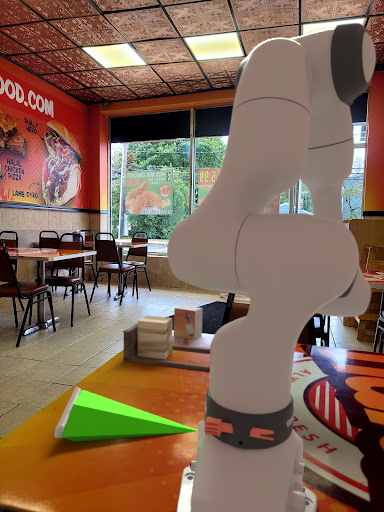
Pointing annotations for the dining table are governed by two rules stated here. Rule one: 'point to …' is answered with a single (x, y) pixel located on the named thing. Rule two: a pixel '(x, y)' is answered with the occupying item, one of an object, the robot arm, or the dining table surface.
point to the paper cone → (109, 420)
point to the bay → (132, 350)
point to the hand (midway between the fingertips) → (235, 289)
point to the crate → (155, 337)
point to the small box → (188, 322)
